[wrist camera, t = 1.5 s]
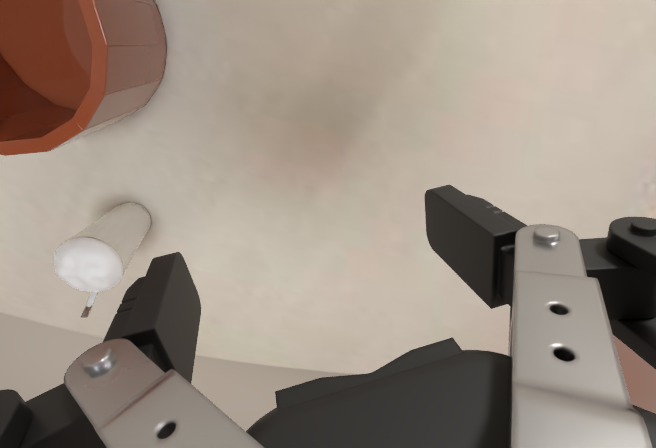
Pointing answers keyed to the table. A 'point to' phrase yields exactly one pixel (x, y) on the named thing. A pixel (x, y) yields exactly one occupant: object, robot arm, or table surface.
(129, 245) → the milkshake
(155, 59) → the pot
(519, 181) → the table surface
